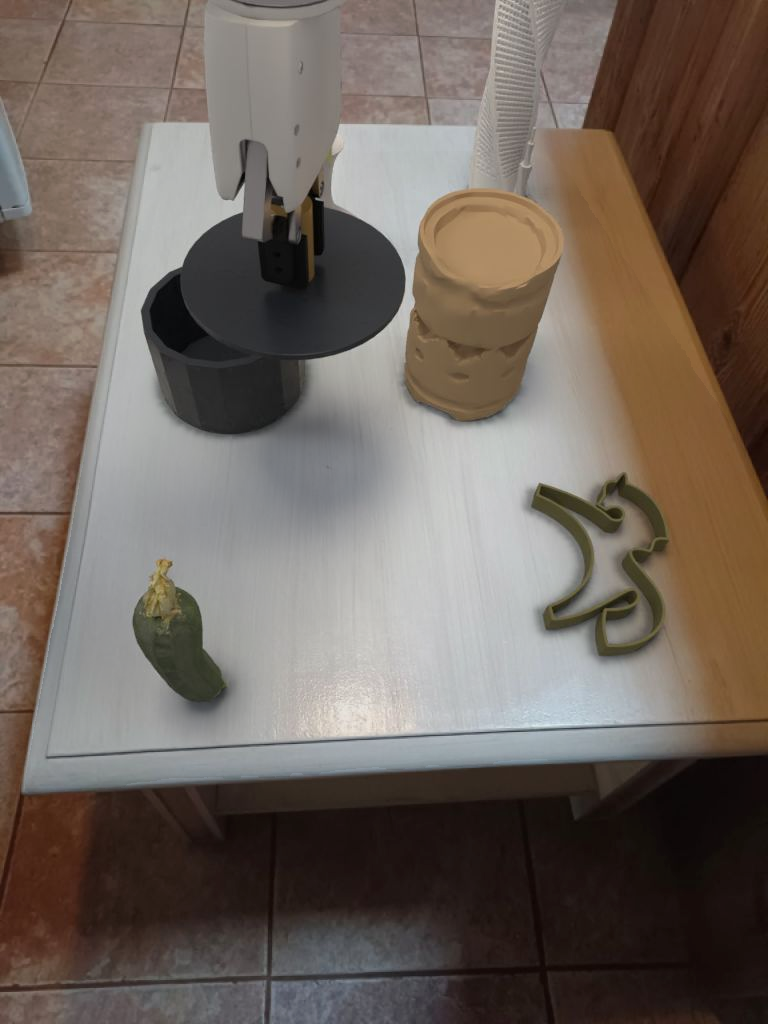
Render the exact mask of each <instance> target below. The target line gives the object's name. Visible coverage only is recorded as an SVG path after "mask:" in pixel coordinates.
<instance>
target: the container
mask: <svg viewBox="0 0 768 1024" xmlns="http://www.w3.org/2000/svg"><path fill="white" fill-rule="evenodd" d="M564 245H565V238H564V233H563V230H562V228H561V226H560V224H559V223H558V221H557V219H556V218H555V217H554V216H553V215H551V213H549V212H548V211H547V210H546V209H544V208H543V207H542V206H541V205H540V204H538V203H537V202H536V201H534V200H532V199H530V198H528V197H526V196H525V197H523V196H520V195H518V194H515V193H511V192H508V191H503V190H497V189H488V188H473V189H469V188H465V189H460V190H456V191H452V192H450V193H447V194H445V195H443V196H440V197H439V198H438V199H436V200H435V201H433V203H431V205H430V206H429V207H428V208H427V210H426V212H425V213H424V215H423V217H422V219H421V221H420V223H419V225H418V233H417V248H418V252H417V255H416V258H415V262H414V269H413V278H412V288H411V292H412V293H411V295H412V296H413V298H414V299H413V300H414V304H413V307H412V309H411V310H410V313H409V323H408V329H407V333H406V334H407V335H406V342H405V351H404V352H405V353H404V357H405V358H404V359H405V363H404V379H405V384H406V386H407V389H408V392H409V394H410V395H411V397H412V398H413V399H414V400H415V401H416V402H417V403H423V404H426V405H429V406H432V408H436V409H437V410H441V411H444V412H445V413H447V414H449V415H450V416H451V417H452V419H454V420H456V421H459V422H466V421H468V422H469V421H476V420H479V419H484V418H486V419H488V418H491V416H493V415H495V414H497V413H498V412H500V411H501V410H503V409H504V408H505V407H507V406H508V404H509V403H510V402H511V401H512V400H513V399H514V398H515V397H516V396H517V394H518V393H519V390H520V388H521V385H522V381H523V379H524V378H523V377H524V375H525V372H526V368H527V365H528V360H529V358H530V357H529V356H530V354H531V352H532V350H533V346H534V343H535V339H536V336H537V335H538V334H537V333H538V329H539V324H540V322H541V321H542V318H543V315H544V312H545V309H546V306H547V302H548V299H549V296H550V292H551V291H552V290H551V289H552V286H553V284H554V280H555V275H556V272H557V270H558V267H559V264H560V261H561V257H562V254H563V252H564Z"/></svg>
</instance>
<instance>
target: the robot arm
mask: <svg viewBox="0 0 768 1024" xmlns="http://www.w3.org/2000/svg"><path fill="white" fill-rule="evenodd" d="M348 1H349V0H207V2H206V4H205V7H204V30H203V31H204V33H203V34H204V36H203V37H204V43H203V44H204V73H205V93H206V94H205V95H206V104H207V105H206V106H207V115H208V117H207V118H208V127H209V138H210V145H211V146H210V147H211V155H212V165H213V172H214V180H215V186H216V190H217V193H218V195H219V197H220V199H222V200H223V201H232V202H233V201H235V199H236V198H237V196H238V194H239V193H240V191H241V190H242V187H243V186H244V189H243V207H242V212H243V221H242V237H243V238H244V239H248V240H253V241H258V250H259V259H260V269H261V277H262V279H263V280H265V281H267V282H271V283H275V284H280V285H284V286H289V287H293V288H298V289H306V288H307V285H308V283H309V264H308V238H307V235H304V234H302V211H301V204H302V203H303V201H304V199H305V198H306V196H307V195H308V196H309V197H310V199H311V200H312V206H313V239H314V255H315V256H319V255H322V253H323V251H324V248H325V239H324V201H319V200H316V199H315V198H320V199H321V198H322V196H323V192H324V161H325V159H326V157H327V155H328V153H329V151H330V149H331V147H332V145H333V143H334V141H335V138H336V135H337V134H338V131H339V129H340V124H341V111H342V96H343V95H342V91H343V69H342V68H343V67H342V66H343V65H342V63H343V62H342V61H343V60H342V57H343V56H342V27H341V24H342V23H341V7H342V6H344V5H345V4H346V3H347V2H348ZM271 204H273V205H278V206H281V207H282V208H284V209H285V212H286V213H287V219H286V218H284V217H283V216H279V215H274V214H271Z"/></svg>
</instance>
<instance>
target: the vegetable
mask: <svg viewBox="0 0 768 1024" xmlns="http://www.w3.org/2000/svg"><path fill="white" fill-rule="evenodd" d="M155 564H156V566H157V569H156V571H154V572H153V573H152V574H151V575H149V578H150V580H149V585H148V586H147V589H146V591H145V592H144V594H142V596H141V597H140V598H139V599H138V602H137V603H136V605H135V607H134V609H133V613H132V619H131V621H132V629H133V630H132V631H133V634H134V638H135V640H136V643H137V645H138V647H139V649H140V651H141V652H142V654H143V655H144V657H145V658H146V659H147V661H148V662H149V663H150V665H151V666H152V668H153V669H154V670H155V671H156V672H157V674H158V675H159V677H160V678H161V679H162V680H163V681H164V682H165V683H166V685H167V686H168V687H169V688H170V689H171V690H172V691H173V692H174V693H176V694H177V695H179V697H181V698H183V699H185V700H187V701H190V702H192V703H196V704H199V703H210V702H212V701H214V699H215V698H216V697H217V696H218V695H219V694H221V692H222V689H224V688H226V687H227V683H226V681H225V679H224V678H223V673H222V670H221V668H220V667H219V666H218V664H216V662H215V661H214V659H213V658H212V657H211V656H210V654H209V653H208V652H207V650H205V648H204V639H203V638H204V637H203V636H204V634H203V631H204V629H203V627H204V626H203V616H202V611H201V609H200V605H199V603H198V602H197V600H196V599H195V597H194V596H193V595H192V594H190V592H188V591H187V590H184V589H182V588H180V587H178V586H176V585H175V582H174V581H173V579H172V578H169V577H168V576H167V574H168V572H169V569H170V568H172V567H173V560H170V559H167V558H166V556H165V555H164V556H163V558H160V559H157V560H156V561H155Z"/></svg>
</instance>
